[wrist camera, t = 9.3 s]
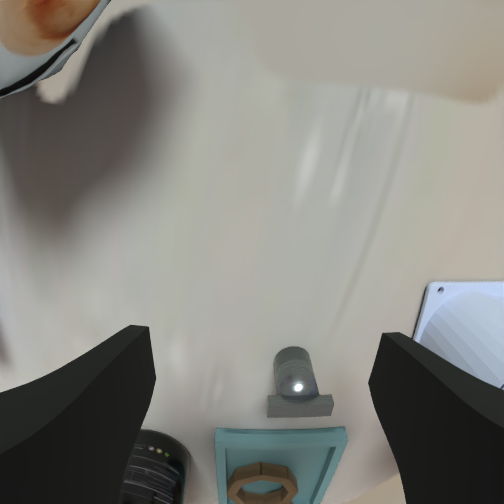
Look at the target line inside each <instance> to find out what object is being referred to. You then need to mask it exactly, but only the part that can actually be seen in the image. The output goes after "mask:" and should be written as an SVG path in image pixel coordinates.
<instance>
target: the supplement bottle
mask: <svg viewBox="0 0 504 504" xmlns="http://www.w3.org/2000/svg"><path fill="white" fill-rule="evenodd" d="M189 465H190V458H189V455H188V453H187V451H186V449H185V448H184V447H183V446H182V445H181V444H180V443H179V442H177V441H176V440H174V439H173V438H171V437H169V436H167V435H165V434H162V433H159V432H156V431H152V430H145V429H140V431H139V434H138V436H137V439H136V441H135V444H134V446H133V449H132V451H131V454H130V457H129V459H128V462H127V466H126V469H125V473H124V477H123V481H122V486H121V490H120V495H119V500H118V504H184V499H185V492H186V486H187V479H188V473H189Z"/></svg>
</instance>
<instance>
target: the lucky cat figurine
mask: <svg viewBox="0 0 504 504" xmlns="http://www.w3.org/2000/svg"><path fill="white" fill-rule="evenodd" d="M110 1H111V0H0V98H3V97H5V96H8V95H10V94H14V93H18V92H21V91H24V90H26V89H28V88H29V87H31V86H32V85H33V84H35V83H36V82H38V81H40V80H43V79H46V78H49V77H50V76H52V75H54V74H56V73H57V72H59V71H60V70H62V68H63V66H64V64H65V63H66V61H67V60H68V59H69V57H70V56H71V55H72V54H73V53H74V52H75V51H77V50H78V48H79V47H80V45H81V43H82V41H83V39H84V38H85V36H86V35H87V33H88V32H89V30H90V29H91V27H92V26H93V25H94V23H95V22H96V20H97V19H98V17H99V16H100V14H101V13H102V12H103V10H104V9H105V7H106V6H107V5H108V4H109V2H110Z"/></svg>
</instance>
